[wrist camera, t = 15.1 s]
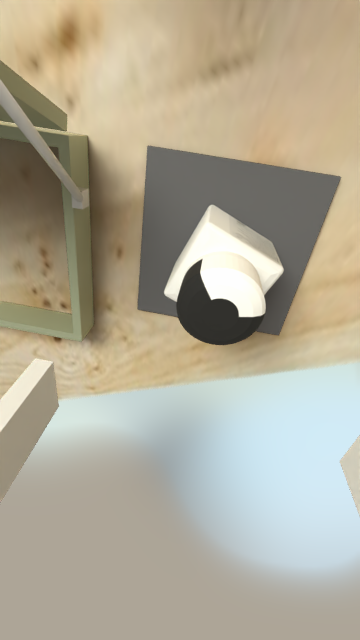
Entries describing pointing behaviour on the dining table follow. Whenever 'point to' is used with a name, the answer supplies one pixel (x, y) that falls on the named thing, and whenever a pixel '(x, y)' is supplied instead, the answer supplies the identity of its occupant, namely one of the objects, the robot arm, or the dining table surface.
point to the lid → (31, 102)
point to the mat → (239, 202)
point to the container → (223, 279)
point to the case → (77, 226)
